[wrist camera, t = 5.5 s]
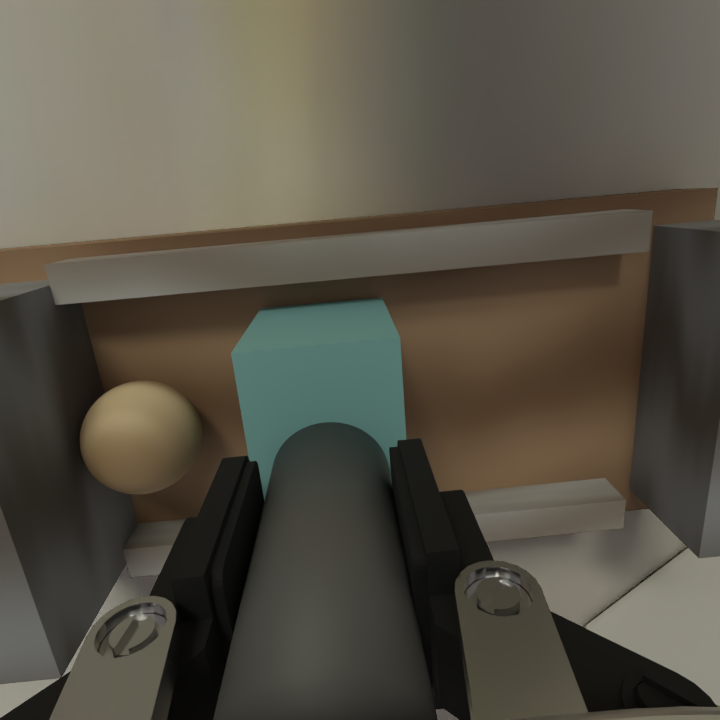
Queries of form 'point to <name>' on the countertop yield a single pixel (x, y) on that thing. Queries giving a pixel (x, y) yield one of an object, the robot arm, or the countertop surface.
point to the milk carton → (673, 620)
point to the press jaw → (325, 524)
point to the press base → (419, 370)
